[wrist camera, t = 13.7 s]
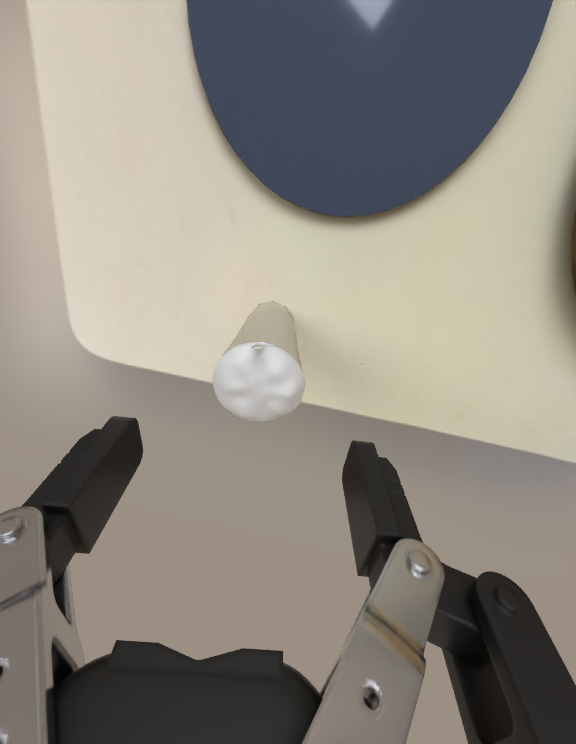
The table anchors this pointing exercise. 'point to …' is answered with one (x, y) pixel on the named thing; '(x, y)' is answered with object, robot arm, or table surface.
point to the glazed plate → (360, 90)
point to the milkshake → (261, 367)
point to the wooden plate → (574, 252)
